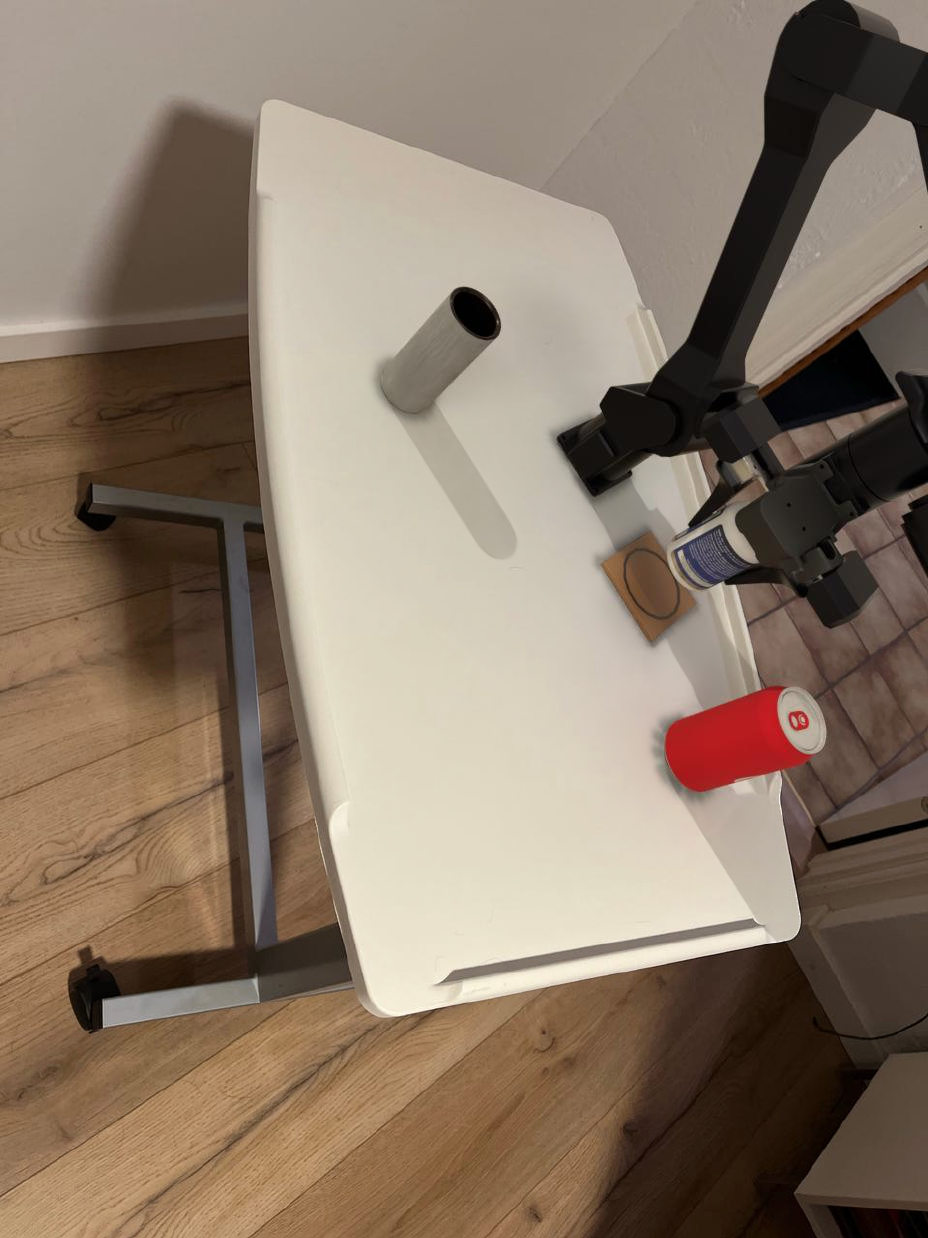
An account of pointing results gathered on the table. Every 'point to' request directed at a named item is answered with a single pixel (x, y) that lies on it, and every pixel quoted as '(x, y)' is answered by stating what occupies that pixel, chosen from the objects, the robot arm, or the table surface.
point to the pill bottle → (710, 551)
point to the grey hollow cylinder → (441, 350)
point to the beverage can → (745, 738)
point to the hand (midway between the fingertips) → (708, 552)
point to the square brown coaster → (648, 585)
